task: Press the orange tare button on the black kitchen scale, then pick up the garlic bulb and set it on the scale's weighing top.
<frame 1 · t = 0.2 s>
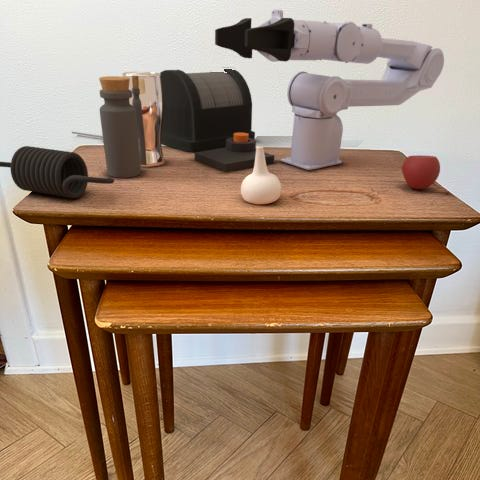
hand: (230, 37, 69), 21 cm above the table, tool horizontal, fingers open, 7 cm apart
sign: (71, 132, 105), point 1 cm above the table
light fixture: (162, 109, 95), point 7 cm above the table
scale: (234, 161, 90), on the table
fruit: (399, 173, 79), point 2 cm above the table
coil: (67, 147, 70), point 6 cm above the table
bottle: (124, 174, 81), on the table
tare button: (241, 138, 92), point 3 cm above the table, slide at 0.1 cm
garlic bulb: (260, 200, 72), on the table
beer glass: (148, 163, 87), on the table
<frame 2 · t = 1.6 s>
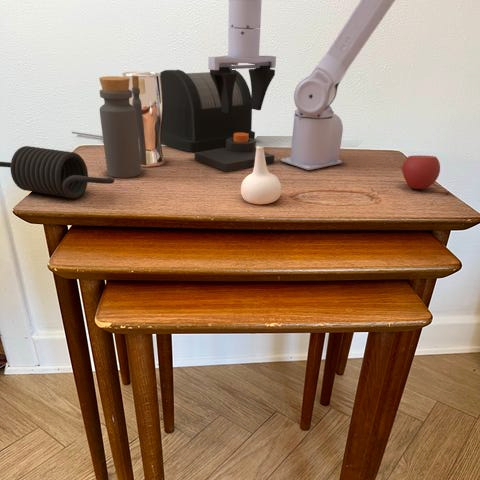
hand: (241, 111, 89), 8 cm above the table, tool pointing down, fingers open, 7 cm apart
nothing on the table moved.
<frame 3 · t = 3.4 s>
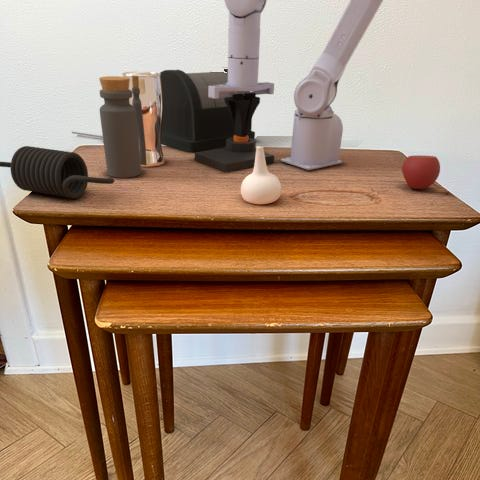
hand: (240, 135, 92), 4 cm above the table, tool pointing down, fingers closed, pressing on tare button
tare button: (240, 139, 92), point 3 cm above the table, slide at -0.2 cm, touching gripper
everything else where it was.
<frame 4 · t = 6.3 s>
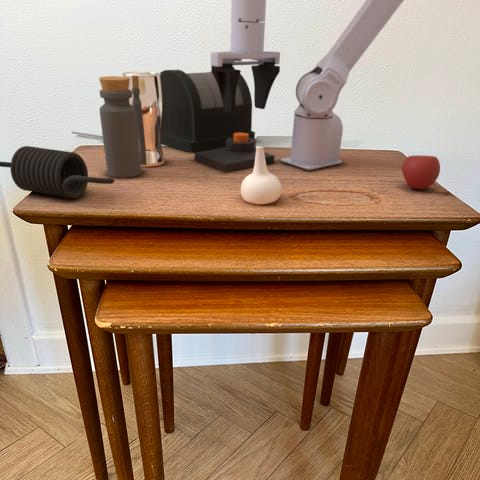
hand: (244, 110, 85), 9 cm above the table, tool pointing down, fingers open, 7 cm apart
tare button: (241, 138, 92), point 3 cm above the table, slide at 0.1 cm
everything else where it was.
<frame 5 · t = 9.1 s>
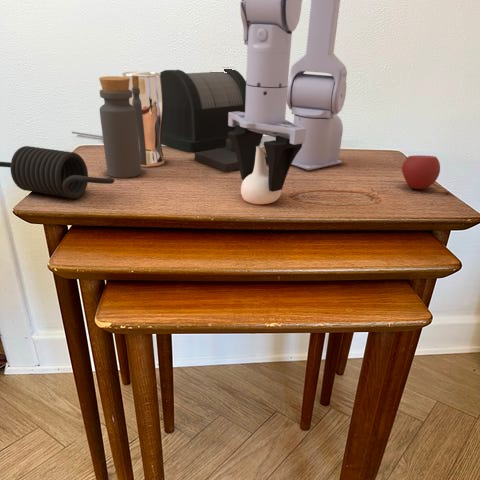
hand: (261, 184, 70), 2 cm above the table, tool pointing down, fingers closed on garlic bulb, 6 cm apart
garlic bulb: (260, 201, 72), on the table, touching gripper
everything else where it was.
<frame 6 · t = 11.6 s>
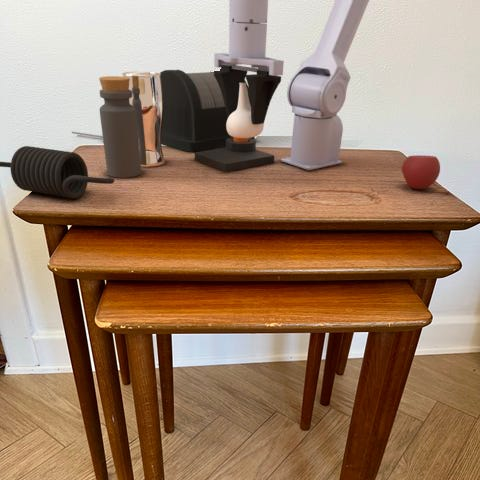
hand: (245, 120, 77), 9 cm above the table, tool pointing down, fingers closed on garlic bulb, 6 cm apart
garlic bulb: (244, 136, 78), point 7 cm above the table, touching gripper
everything else where it was.
when the fingers open (4 cm above the table, at t = 14.5 s): garlic bulb stays where it is, resting on scale.
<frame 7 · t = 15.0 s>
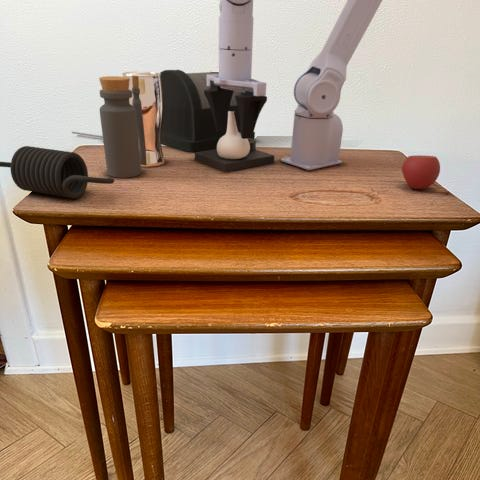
hand: (233, 134, 85), 5 cm above the table, tool pointing down, fingers open, 7 cm apart
garlic bulb: (233, 157, 88), point 1 cm above the table, touching scale
everything else where it was.
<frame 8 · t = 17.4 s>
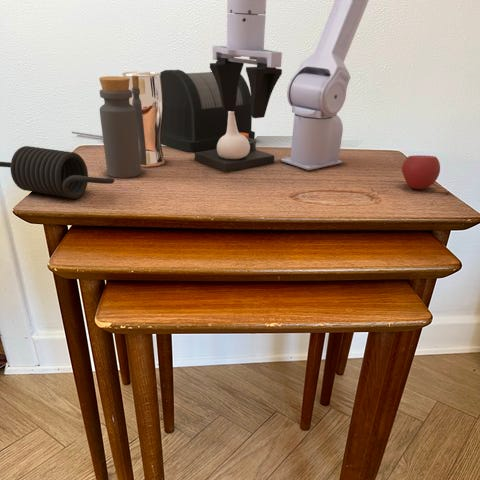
hand: (243, 113, 76), 10 cm above the table, tool pointing down, fingers open, 7 cm apart
nothing on the table moved.
at the end: tare button pushed in 1.0 cm at the most during the clip, back to where it started at the end; garlic bulb inside the target area on the scale (2.1 cm from its centre), point 1.2 cm above the scale's base; garlic bulb touching scale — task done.
